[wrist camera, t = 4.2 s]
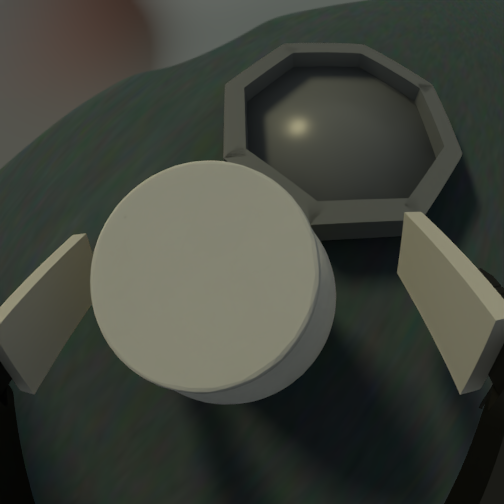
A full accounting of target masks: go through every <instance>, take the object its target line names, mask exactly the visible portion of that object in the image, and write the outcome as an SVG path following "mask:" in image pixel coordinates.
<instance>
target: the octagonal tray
mask: <svg viewBox="0 0 504 504" xmlns="http://www.w3.org/2000/svg"><path fill="white" fill-rule="evenodd" d="M462 155H463V154H462V151H461V149H460V146H459V144H458V141H457V138H456V136H455V133H454V131H453V129H452V126H451V124H450V122H449V119H448V117H447V115H446V112H445V110H444V108H443V106H442V104H441V102H440V99H439V97H438V95H437V93H436V91H435V89H434V87H433V85H432V84H430V83H429V82H427V81H426V80H424V79H422V78H421V77H419V76H418V75H416V74H415V73H413V72H411V71H410V70H408V69H407V68H405V67H403V66H402V65H400V64H398V63H396V62H395V61H393V60H391V59H390V58H388V57H386V56H384V55H382V54H381V53H379V52H377V51H375V50H373V49H371V48H369V47H367V46H365V45H364V44H346V43H288V44H283V45H281V46H280V47H278V48H277V49H275V50H274V51H272V52H271V53H269V54H268V55H266V56H265V57H263V58H262V59H260V60H259V61H257V62H256V63H254V64H253V65H251V66H250V67H249V68H247V69H246V70H244V71H243V72H242V73H240V74H239V75H237V76H236V77H235V78H233V79H232V80H231V81H229V82H228V83H227V84H225V105H224V155H223V159H224V161H225V162H231V163H235V164H239V165H243V166H246V167H248V168H251V169H253V170H256V171H258V172H260V173H262V174H264V175H266V176H267V177H269V178H271V179H273V180H274V181H275V182H276V183H278V184H279V185H280V186H281V187H283V188H284V189H285V190H286V191H287V192H288V193H289V194H290V195H291V196H292V197H293V198H294V200H295V201H296V202H297V204H298V205H299V206H300V208H301V209H302V211H303V212H304V214H305V215H306V217H307V219H308V221H309V223H310V226H311V228H312V229H313V231H314V233H315V234H316V236H317V237H318V238H319V240H320V241H323V240H341V239H358V238H376V237H395V236H402V230H403V220H404V212H422V213H423V214H424V215H425V214H426V213H427V211H428V210H429V208H430V207H431V205H432V204H433V202H434V201H435V199H436V198H437V196H438V194H439V193H440V191H441V190H442V188H443V186H444V185H445V183H446V182H447V180H448V178H449V177H450V175H451V173H452V172H453V170H454V168H455V167H456V165H457V163H458V161H459V160H460V158H461V156H462Z"/></svg>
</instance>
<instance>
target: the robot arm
mask: <svg viewBox="0 0 504 504" xmlns="http://www.w3.org/2000/svg"><path fill="white" fill-rule="evenodd" d="M92 259H93V254H92V251H91V248H90V244H89V241H88V238H87V235H86V234H77V235H72V236H71V237H70V238H69V239H68V240H67V241H66V242H65V243H64V244H62V245H61V246H60V247H59V248H58V249H57V250H56V251H55V252H54V253H53V254H52V255H51V256H50V257H49V258H47V259H46V260H45V261H44V262H43V263H42V264H41V265H40V266H39V267H38V268H37V269H36V270H35V271H34V272H33V273H32V274H31V275H30V276H29V277H28V278H27V279H26V280H25V281H24V282H23V283H22V284H21V285H20V286H19V287H18V288H17V289H16V291H15V292H14V293H13V294H12V295H11V296H10V297H9V298H8V299H7V300H6V301H5V302H4V303H3V304H2V306H1V307H0V504H35V502H34V499H33V496H32V492H31V489H30V485H29V481H28V477H27V473H26V469H25V465H24V460H23V455H22V450H21V445H20V440H19V434H18V428H17V421H16V414H15V406H14V397H13V391H12V389H11V388H10V386H9V385H8V384H9V382H10V381H11V379H12V380H13V381H14V383H15V384H16V385H17V387H18V388H19V389H20V391H23V392H27V393H30V394H34V395H35V393H36V391H37V390H38V388H39V386H40V384H41V383H42V381H43V379H44V378H45V376H46V374H47V373H48V371H49V369H50V368H51V366H52V364H53V363H54V361H55V360H56V358H57V356H58V355H59V353H60V352H61V350H62V348H63V347H64V345H65V344H66V342H67V341H68V339H69V337H70V336H71V334H72V333H73V331H74V330H75V328H76V327H77V325H78V324H79V322H80V321H81V319H82V318H83V316H84V315H85V313H86V312H87V310H88V309H89V308H90V306H91V305H92V299H91V287H90V277H91V264H92ZM397 274H398V276H399V277H400V279H401V281H402V282H403V284H404V286H405V288H406V289H407V291H408V293H409V295H410V296H411V298H412V300H413V302H414V303H415V305H416V307H417V309H418V311H419V313H420V314H421V316H422V318H423V320H424V322H425V324H426V326H427V327H428V329H429V331H430V333H431V335H432V337H433V339H434V341H435V343H436V345H437V347H438V349H439V351H440V353H441V355H442V357H443V359H444V361H445V363H446V365H447V367H448V369H449V372H450V374H451V376H452V378H453V380H454V382H455V385H456V387H457V389H458V391H459V394H460V395H462V394H465V393H469V392H472V391H476V390H479V389H481V387H482V385H483V384H484V382H485V380H486V378H487V377H488V375H489V377H490V379H491V381H492V383H493V385H492V387H491V388H490V390H489V392H488V393H487V395H486V396H485V398H484V400H483V401H482V403H481V405H480V406H479V408H481V409H482V407H483V406H484V404H485V406H484V409H483V412H482V415H481V418H480V421H479V424H478V427H477V430H476V433H475V436H474V438H473V441H472V444H471V446H470V449H469V451H468V454H467V456H466V459H465V461H464V463H463V466H462V468H461V470H460V472H459V475H458V477H457V479H456V481H455V483H454V485H453V487H452V489H451V491H450V493H449V495H448V497H447V499H446V501H445V503H444V504H504V288H503V287H501V285H500V284H499V282H498V281H497V280H496V279H495V278H494V277H493V276H492V275H490V274H489V273H487V272H486V271H484V270H483V269H481V268H480V269H477V268H476V267H475V266H474V264H473V263H472V262H471V261H470V260H469V259H468V258H467V257H466V256H465V255H464V254H463V253H462V252H461V251H460V249H459V248H458V247H457V246H456V245H455V244H454V243H453V242H452V241H451V240H450V239H449V238H448V237H447V236H446V235H445V234H444V233H443V232H442V231H441V230H440V229H439V228H438V227H437V226H436V225H435V224H434V223H433V222H431V221H430V220H429V219H428V218H427V217H426V216H425V215H424V214H423V213H422V212H404V220H403V230H402V239H401V247H400V255H399V262H398V269H397Z"/></svg>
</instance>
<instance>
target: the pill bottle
mask: <svg viewBox="0 0 504 504" xmlns="http://www.w3.org/2000/svg"><path fill="white" fill-rule="evenodd" d="M90 287H91V299H92V305H93V309H94V313H95V317H96V319H97V322H98V325H99V327H100V330H101V332H102V334H103V336H104V338H105V339H106V341H107V343H108V345H109V346H110V347H111V349H112V350H113V351H114V353H115V354H116V355H117V357H118V358H119V359H120V360H121V361H122V362H123V363H124V364H125V365H126V366H127V367H128V368H130V369H131V370H132V371H134V372H135V373H137V374H138V375H140V376H141V377H143V378H144V379H146V380H148V381H150V382H152V383H154V384H156V385H158V386H160V387H163V388H166V389H170V390H173V391H176V392H178V393H180V394H182V395H184V396H186V397H189V398H192V399H195V400H198V401H202V402H206V403H213V404H242V403H248V402H253V401H257V400H260V399H263V398H266V397H268V396H271V395H273V394H275V393H277V392H279V391H281V390H283V389H284V388H286V387H288V386H289V385H290V384H292V383H293V382H294V381H295V380H297V379H298V378H299V377H300V376H301V375H303V374H304V372H305V371H306V370H307V369H308V368H309V367H310V366H311V365H312V363H313V362H314V361H315V360H316V358H317V357H318V355H319V354H320V352H321V350H322V349H323V347H324V345H325V343H326V341H327V338H328V336H329V333H330V330H331V327H332V324H333V319H334V315H335V306H336V288H335V279H334V274H333V270H332V267H331V263H330V260H329V258H328V255H327V253H326V251H325V249H324V247H323V245H322V243H321V242H320V240H319V238H318V237H317V236H316V234H315V233H314V231H313V229H312V228H311V226H310V223H309V221H308V219H307V217H306V215H305V214H304V212H303V211H302V209H301V208H300V206H299V205H298V204H297V202H296V201H295V200H294V198H293V197H292V196H291V195H290V194H289V193H288V192H287V191H286V190H285V189H284V188H283V187H281V186H280V185H279V184H278V183H276V182H275V181H274V180H273V179H271V178H269V177H267V176H266V175H264V174H262V173H260V172H258V171H256V170H253V169H251V168H248V167H246V166H243V165H239V164H235V163H231V162H225V161H196V162H189V163H185V164H180V165H176V166H174V167H171V168H168V169H166V170H164V171H161V172H159V173H157V174H155V175H153V176H152V177H150V178H148V179H147V180H145V181H144V182H142V183H141V184H139V185H138V186H137V187H136V188H134V189H133V190H132V191H131V192H130V193H129V194H128V195H127V196H126V197H125V198H124V199H123V200H122V201H121V202H120V203H119V204H118V205H117V206H116V208H115V209H114V211H113V212H112V213H111V215H110V217H109V218H108V220H107V222H106V223H105V225H104V227H103V229H102V231H101V233H100V236H99V238H98V241H97V244H96V247H95V250H94V254H93V259H92V264H91V277H90Z"/></svg>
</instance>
